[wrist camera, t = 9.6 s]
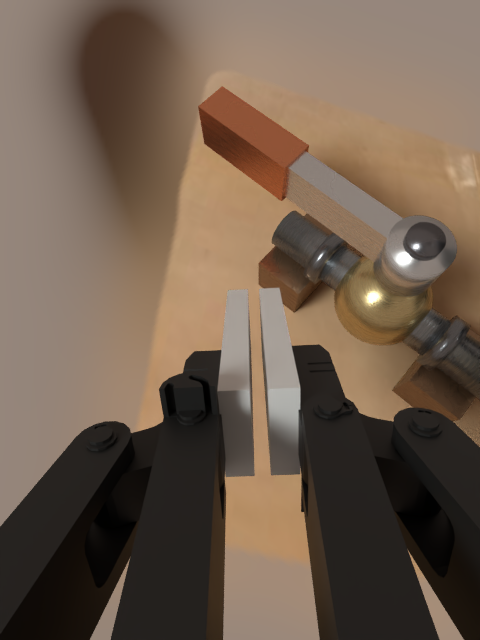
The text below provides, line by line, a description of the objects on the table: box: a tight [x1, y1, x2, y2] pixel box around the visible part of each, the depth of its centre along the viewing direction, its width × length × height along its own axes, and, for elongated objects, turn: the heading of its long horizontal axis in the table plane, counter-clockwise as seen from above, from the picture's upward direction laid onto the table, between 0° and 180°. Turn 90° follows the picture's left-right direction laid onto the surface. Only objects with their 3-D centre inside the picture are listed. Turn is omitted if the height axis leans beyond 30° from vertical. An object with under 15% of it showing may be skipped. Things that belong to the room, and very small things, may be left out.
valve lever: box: [198, 87, 457, 297], centre depth 25 cm, size 18×4×4 cm, turn 47°
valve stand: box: [259, 211, 480, 421], centre depth 30 cm, size 18×7×10 cm, turn 48°
